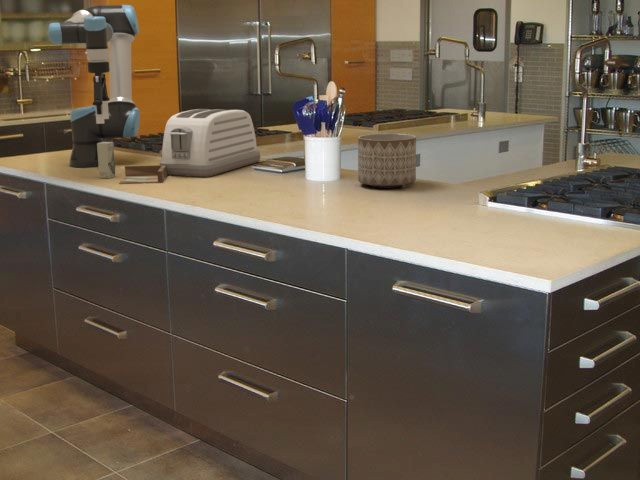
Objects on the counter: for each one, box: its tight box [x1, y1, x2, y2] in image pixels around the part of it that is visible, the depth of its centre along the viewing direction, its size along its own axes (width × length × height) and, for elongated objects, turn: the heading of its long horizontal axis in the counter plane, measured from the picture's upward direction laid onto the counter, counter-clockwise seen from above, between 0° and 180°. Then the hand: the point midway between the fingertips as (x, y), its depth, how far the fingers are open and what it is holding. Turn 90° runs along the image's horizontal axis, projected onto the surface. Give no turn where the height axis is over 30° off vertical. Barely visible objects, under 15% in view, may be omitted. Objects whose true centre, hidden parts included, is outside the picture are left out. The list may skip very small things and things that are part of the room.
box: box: [97, 141, 116, 179], centre depth 325 cm, size 5×4×13 cm
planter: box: [357, 132, 417, 189], centre depth 297 cm, size 19×19×16 cm
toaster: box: [158, 108, 261, 178], centre depth 340 cm, size 23×45×22 cm, turn 155°
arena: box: [118, 164, 168, 185], centre depth 319 cm, size 15×15×4 cm
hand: (102, 121), depth 320 cm, fingers open, 13 cm apart
